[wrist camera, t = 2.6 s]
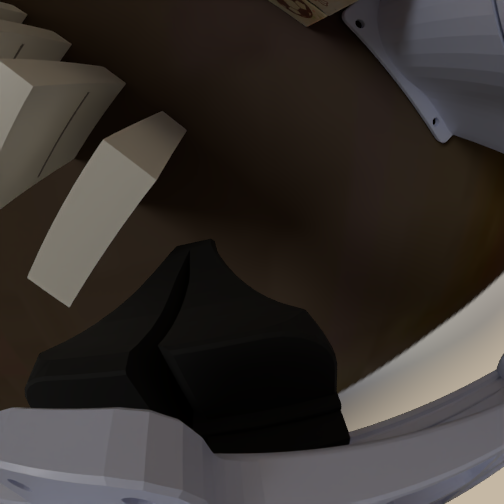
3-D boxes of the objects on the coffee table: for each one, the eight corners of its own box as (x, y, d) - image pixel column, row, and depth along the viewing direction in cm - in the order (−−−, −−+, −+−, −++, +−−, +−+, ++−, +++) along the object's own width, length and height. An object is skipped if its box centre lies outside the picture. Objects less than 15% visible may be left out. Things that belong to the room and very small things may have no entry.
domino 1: (187, 130, 15) (157, 180, 7) (131, 201, 16) (69, 307, 8) (162, 110, 14) (102, 139, 6) (107, 184, 16) (26, 276, 8)
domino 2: (126, 83, 13) (33, 86, 5) (74, 158, 15) (-28, 232, 7) (103, 66, 13) (-4, 58, 5) (53, 142, 14) (-59, 203, 6)
